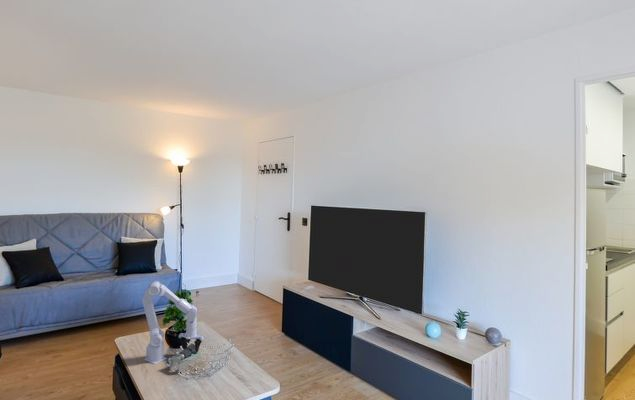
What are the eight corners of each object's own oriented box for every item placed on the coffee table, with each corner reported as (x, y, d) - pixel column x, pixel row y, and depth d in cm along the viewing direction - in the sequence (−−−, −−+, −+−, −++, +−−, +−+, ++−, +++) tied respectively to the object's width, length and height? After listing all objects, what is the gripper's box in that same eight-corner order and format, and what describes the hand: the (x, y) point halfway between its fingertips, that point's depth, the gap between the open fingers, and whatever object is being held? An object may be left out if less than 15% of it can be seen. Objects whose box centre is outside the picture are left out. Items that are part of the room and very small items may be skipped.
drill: (185, 360, 197) (181, 352, 197) (179, 362, 198) (175, 355, 198) (197, 349, 207) (194, 342, 207) (191, 352, 209) (187, 344, 209)
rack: (168, 362, 198) (168, 358, 198) (190, 352, 211) (190, 349, 211) (177, 366, 193) (177, 362, 193) (199, 355, 206) (199, 352, 206)
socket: (169, 369, 189) (169, 358, 189) (178, 365, 194) (179, 354, 194) (178, 374, 185) (179, 362, 185) (188, 369, 190) (188, 358, 190)
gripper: (176, 328, 203) (175, 352, 204) (198, 331, 200) (198, 355, 200) (183, 324, 210) (183, 347, 210) (205, 327, 207) (204, 350, 207)
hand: (190, 350), depth 206 cm, fingers open, 7 cm apart
